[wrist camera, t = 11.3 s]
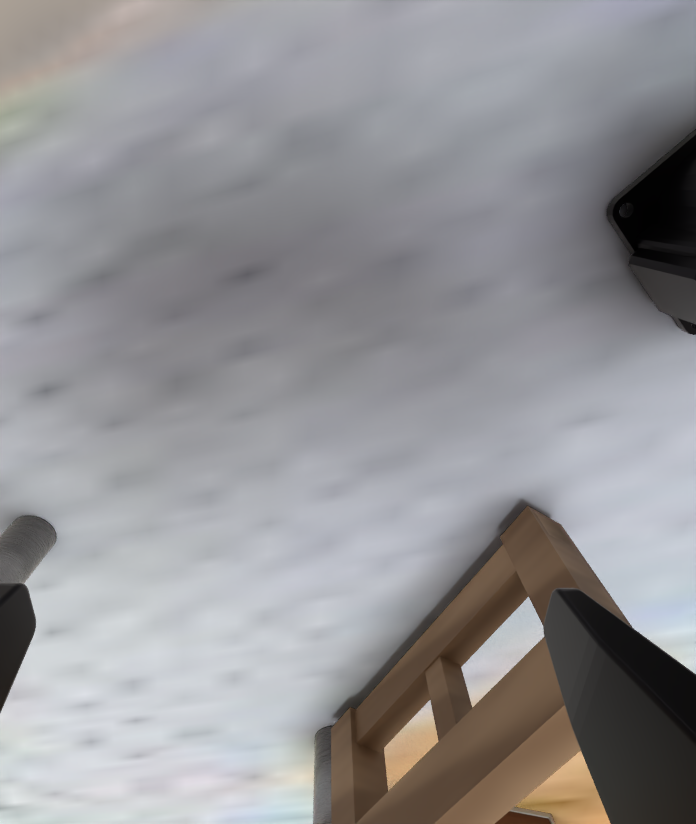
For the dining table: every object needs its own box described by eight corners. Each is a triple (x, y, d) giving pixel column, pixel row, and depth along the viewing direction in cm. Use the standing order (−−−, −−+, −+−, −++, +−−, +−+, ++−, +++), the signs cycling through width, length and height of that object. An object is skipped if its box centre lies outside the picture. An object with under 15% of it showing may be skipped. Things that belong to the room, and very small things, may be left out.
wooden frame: (561, 524, 23) (666, 677, 16) (361, 740, 29) (372, 927, 22) (527, 505, 23) (620, 653, 16) (330, 728, 28) (331, 916, 21)
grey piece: (27, 508, 23) (-115, 657, 16) (356, 737, 30) (365, 916, 22) (1, 533, 23) (-148, 690, 16) (331, 753, 30) (332, 933, 23)
